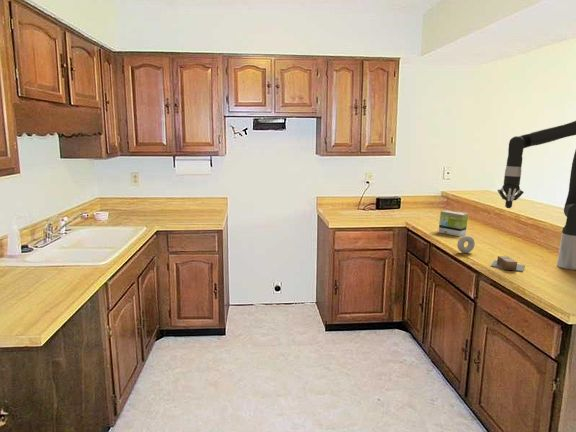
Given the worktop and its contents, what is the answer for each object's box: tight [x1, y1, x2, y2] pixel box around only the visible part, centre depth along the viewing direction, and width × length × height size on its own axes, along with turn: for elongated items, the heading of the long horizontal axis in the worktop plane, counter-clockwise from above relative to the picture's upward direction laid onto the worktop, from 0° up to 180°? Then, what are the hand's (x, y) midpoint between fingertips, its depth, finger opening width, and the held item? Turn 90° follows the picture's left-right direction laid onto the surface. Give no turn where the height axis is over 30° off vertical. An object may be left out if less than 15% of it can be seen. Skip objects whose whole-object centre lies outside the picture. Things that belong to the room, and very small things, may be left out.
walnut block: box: [496, 255, 518, 271], centre depth 213 cm, size 4×5×10 cm
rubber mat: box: [490, 259, 526, 273], centre depth 216 cm, size 14×12×1 cm
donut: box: [456, 234, 476, 254], centre depth 239 cm, size 10×4×10 cm, turn 102°
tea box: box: [438, 209, 469, 237], centre depth 289 cm, size 15×10×15 cm, turn 47°
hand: (508, 207), depth 229 cm, fingers closed
